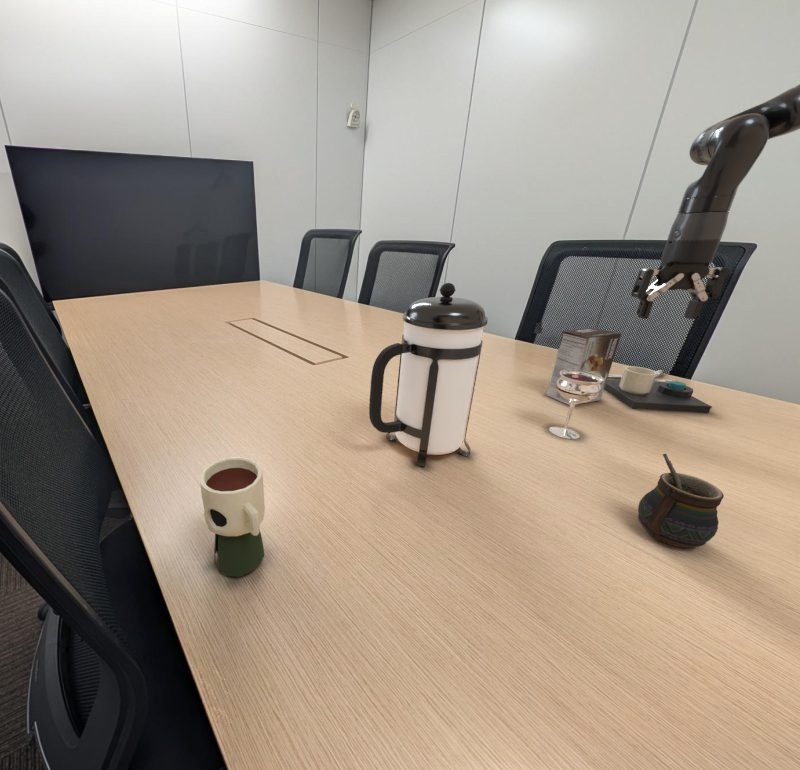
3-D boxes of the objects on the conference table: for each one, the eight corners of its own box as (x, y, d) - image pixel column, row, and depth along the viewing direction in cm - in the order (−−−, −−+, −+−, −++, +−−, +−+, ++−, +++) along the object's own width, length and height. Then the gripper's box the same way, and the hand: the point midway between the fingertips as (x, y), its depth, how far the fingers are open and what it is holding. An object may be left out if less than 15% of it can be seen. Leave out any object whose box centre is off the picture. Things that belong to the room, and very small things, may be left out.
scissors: (691, 384, 91) (598, 379, 95) (690, 387, 92) (597, 382, 96) (661, 370, 101) (577, 366, 105) (660, 372, 101) (577, 368, 105)
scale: (664, 388, 92) (669, 376, 91) (710, 413, 80) (716, 400, 78) (598, 384, 95) (601, 373, 94) (632, 408, 82) (636, 396, 81)
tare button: (678, 386, 86) (680, 381, 86) (686, 391, 84) (689, 385, 83) (665, 385, 87) (667, 380, 86) (673, 390, 84) (675, 384, 84)
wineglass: (579, 445, 69) (598, 385, 65) (538, 431, 74) (553, 375, 70) (590, 433, 73) (609, 376, 69) (550, 421, 78) (566, 367, 74)
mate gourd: (681, 563, 45) (716, 496, 41) (615, 520, 52) (639, 459, 48) (721, 548, 47) (758, 483, 43) (652, 509, 54) (678, 449, 50)
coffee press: (393, 420, 80) (406, 275, 69) (474, 438, 73) (504, 279, 61) (364, 460, 67) (375, 288, 55) (461, 487, 59) (497, 295, 47)
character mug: (197, 544, 50) (184, 462, 45) (244, 522, 53) (237, 443, 48) (233, 606, 41) (222, 514, 36) (287, 575, 45) (283, 486, 40)
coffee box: (574, 390, 92) (593, 326, 86) (601, 400, 86) (623, 333, 80) (545, 395, 90) (562, 330, 84) (570, 406, 84) (590, 337, 78)
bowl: (639, 386, 89) (646, 367, 87) (655, 395, 84) (663, 375, 83) (613, 385, 91) (619, 365, 89) (626, 394, 86) (634, 374, 84)
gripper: (721, 236, 76) (691, 314, 83) (640, 238, 79) (617, 314, 85) (755, 236, 70) (720, 322, 76) (664, 239, 73) (638, 321, 79)
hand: (665, 318), depth 81 cm, fingers open, 8 cm apart
